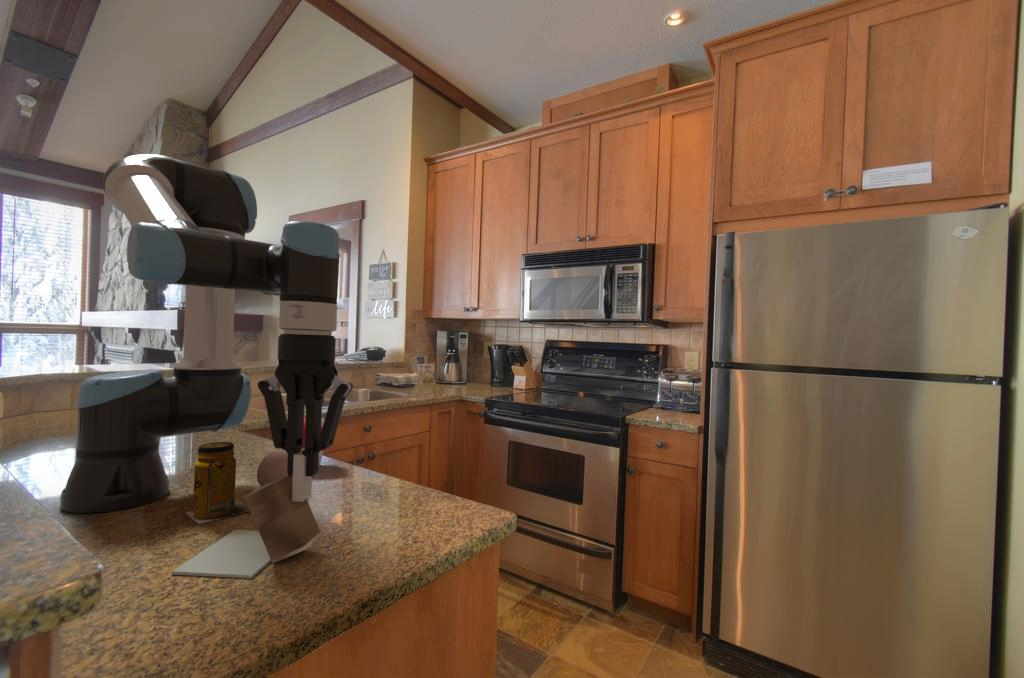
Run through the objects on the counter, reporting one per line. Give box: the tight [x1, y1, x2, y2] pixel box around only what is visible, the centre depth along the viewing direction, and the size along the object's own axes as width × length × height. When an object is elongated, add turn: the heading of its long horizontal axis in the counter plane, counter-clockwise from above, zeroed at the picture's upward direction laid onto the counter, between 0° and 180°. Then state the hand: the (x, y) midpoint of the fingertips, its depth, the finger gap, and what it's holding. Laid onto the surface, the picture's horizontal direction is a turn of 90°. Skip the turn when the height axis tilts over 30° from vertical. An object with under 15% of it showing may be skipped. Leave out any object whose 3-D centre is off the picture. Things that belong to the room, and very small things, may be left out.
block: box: [243, 475, 322, 565], centre depth 66 cm, size 5×5×10 cm
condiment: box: [185, 441, 250, 525], centre depth 80 cm, size 7×8×12 cm
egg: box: [256, 449, 288, 487], centre depth 91 cm, size 7×7×8 cm
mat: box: [171, 529, 272, 579], centre depth 66 cm, size 10×13×1 cm
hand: (301, 497), depth 66 cm, fingers closed
